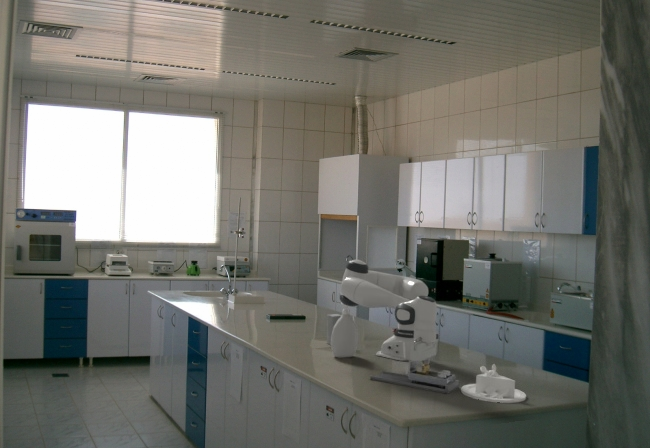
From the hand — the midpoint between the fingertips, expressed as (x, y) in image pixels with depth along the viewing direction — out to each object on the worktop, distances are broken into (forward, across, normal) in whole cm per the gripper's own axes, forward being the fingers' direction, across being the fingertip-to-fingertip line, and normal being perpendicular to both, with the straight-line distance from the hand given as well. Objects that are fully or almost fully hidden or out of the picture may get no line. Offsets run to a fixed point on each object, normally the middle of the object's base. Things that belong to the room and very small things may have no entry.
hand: (422, 370), depth 269 cm
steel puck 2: (+2, +2, -9) cm, 10 cm away
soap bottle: (+6, +26, +51) cm, 58 cm away
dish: (+7, +6, -28) cm, 29 cm away
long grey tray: (+5, 0, -4) cm, 7 cm away
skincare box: (+6, +49, +69) cm, 85 cm away
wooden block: (+2, 0, 0) cm, 2 cm away
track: (+6, 0, +4) cm, 7 cm away
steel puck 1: (+2, -2, -9) cm, 10 cm away
